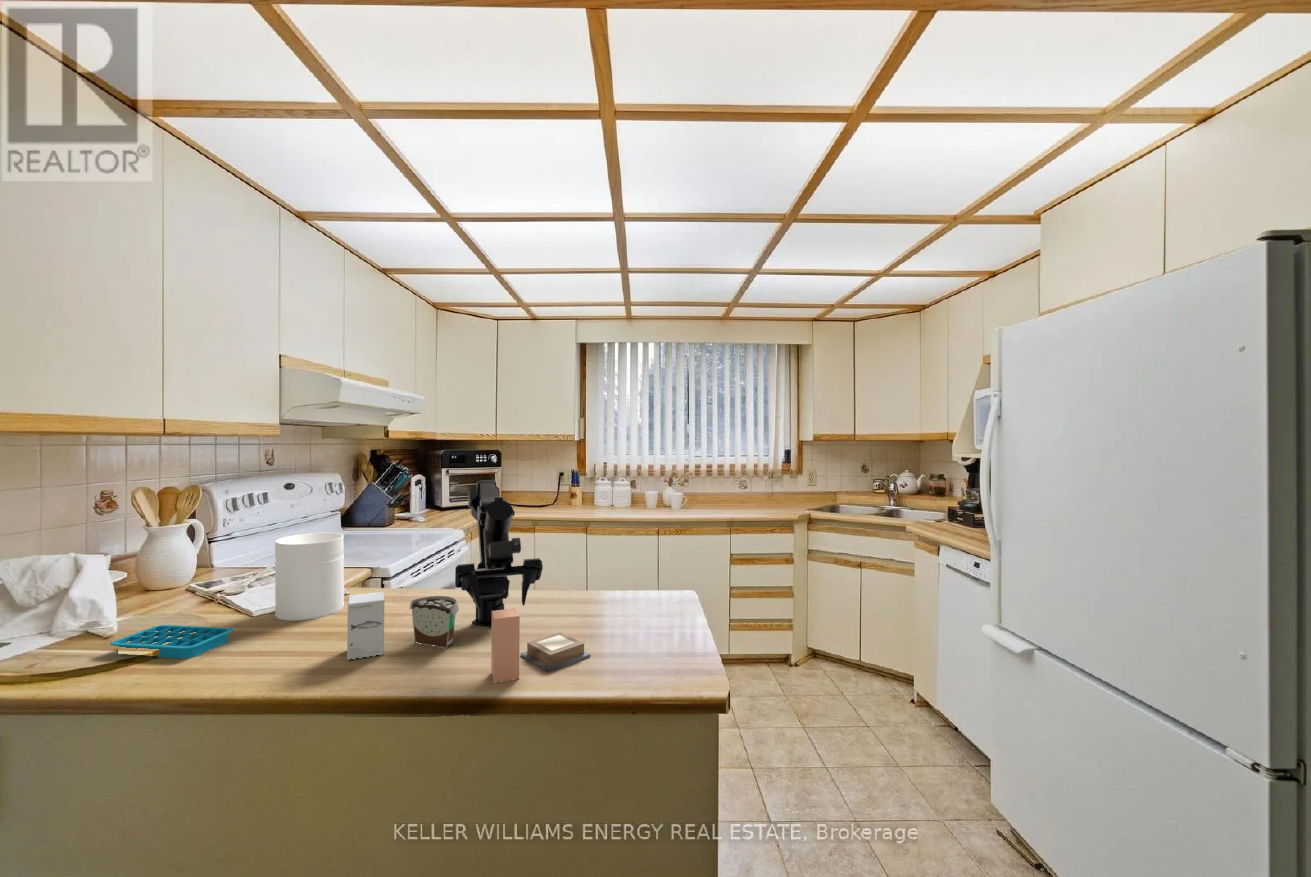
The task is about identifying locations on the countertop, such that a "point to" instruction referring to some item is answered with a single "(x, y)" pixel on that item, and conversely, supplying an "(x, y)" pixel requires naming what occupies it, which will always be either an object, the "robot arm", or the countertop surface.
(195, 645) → the ice cube tray
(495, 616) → the terracotta block
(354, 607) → the supplement box
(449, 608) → the food container
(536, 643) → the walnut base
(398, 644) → the countertop surface
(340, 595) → the canister
